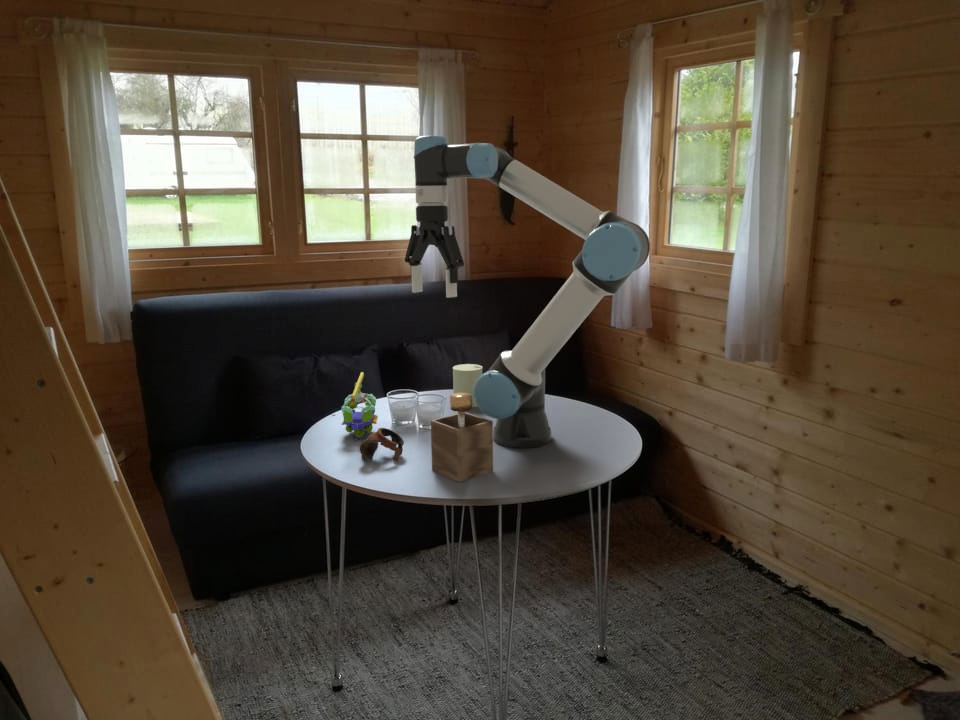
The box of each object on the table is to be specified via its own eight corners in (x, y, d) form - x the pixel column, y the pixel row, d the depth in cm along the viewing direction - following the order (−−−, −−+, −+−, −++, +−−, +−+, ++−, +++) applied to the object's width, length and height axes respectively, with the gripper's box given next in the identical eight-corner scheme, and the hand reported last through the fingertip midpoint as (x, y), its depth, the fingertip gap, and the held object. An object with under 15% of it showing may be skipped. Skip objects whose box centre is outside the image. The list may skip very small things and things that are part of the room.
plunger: (464, 456, 173) (463, 389, 169) (486, 465, 167) (486, 395, 163) (437, 464, 168) (436, 395, 164) (459, 473, 162) (458, 402, 158)
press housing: (465, 459, 174) (464, 411, 172) (493, 471, 167) (492, 421, 164) (432, 470, 168) (430, 420, 165) (459, 482, 161) (458, 430, 158)
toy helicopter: (374, 450, 182) (371, 394, 179) (337, 451, 181) (334, 395, 178) (380, 420, 206) (378, 370, 203) (348, 421, 206) (345, 371, 202)
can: (483, 407, 218) (483, 368, 215) (453, 408, 217) (452, 369, 215) (482, 399, 227) (482, 362, 224) (453, 400, 226) (452, 362, 224)
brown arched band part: (372, 450, 183) (388, 424, 181) (398, 473, 179) (414, 446, 178) (343, 453, 172) (359, 424, 171) (370, 477, 168) (386, 448, 167)
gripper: (388, 205, 178) (391, 291, 182) (452, 204, 159) (454, 300, 164) (413, 204, 183) (416, 288, 187) (478, 204, 164) (479, 297, 169)
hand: (434, 294), depth 175 cm, fingers open, 13 cm apart
